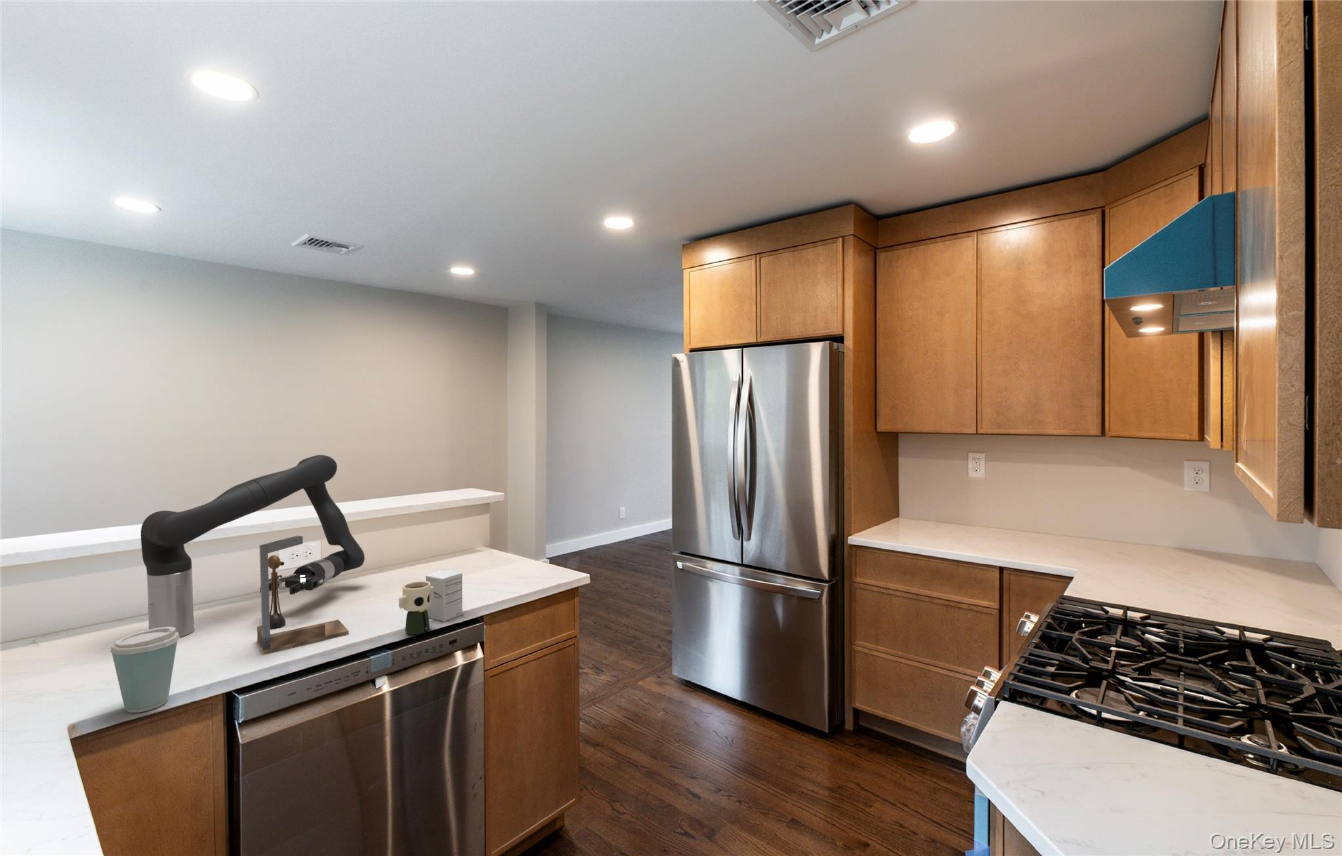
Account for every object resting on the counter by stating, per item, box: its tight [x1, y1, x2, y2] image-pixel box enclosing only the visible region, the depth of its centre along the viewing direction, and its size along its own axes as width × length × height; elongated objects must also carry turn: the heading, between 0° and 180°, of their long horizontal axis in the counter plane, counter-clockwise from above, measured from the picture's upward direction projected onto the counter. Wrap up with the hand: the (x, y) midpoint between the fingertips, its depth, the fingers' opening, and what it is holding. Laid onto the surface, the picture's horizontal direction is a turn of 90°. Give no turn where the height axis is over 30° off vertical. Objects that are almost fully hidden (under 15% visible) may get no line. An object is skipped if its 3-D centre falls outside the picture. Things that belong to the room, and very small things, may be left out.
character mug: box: [398, 580, 434, 635], centre depth 161 cm, size 11×7×13 cm, turn 152°
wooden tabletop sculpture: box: [268, 554, 287, 630], centre depth 164 cm, size 6×5×20 cm
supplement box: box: [425, 569, 463, 623], centre depth 173 cm, size 7×7×13 cm
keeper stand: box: [256, 535, 350, 655], centre depth 156 cm, size 19×11×27 cm, turn 132°
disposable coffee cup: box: [110, 627, 181, 714], centre depth 122 cm, size 11×11×15 cm
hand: (276, 590), depth 165 cm, fingers open, 8 cm apart
